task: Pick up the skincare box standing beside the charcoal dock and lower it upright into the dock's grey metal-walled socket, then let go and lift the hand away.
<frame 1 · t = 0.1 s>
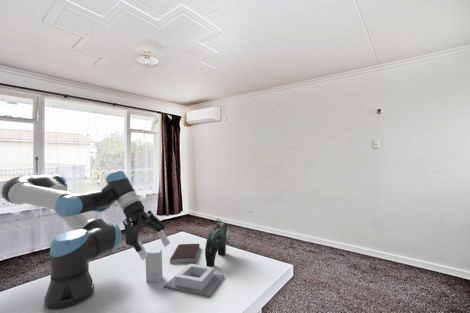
hand: (157, 251, 90), 15 cm above the table, tool tilted 35°, fingers open, 13 cm apart
socket dock: (195, 282, 96), on the table
book: (186, 256, 123), on the table
dark green figurine: (217, 259, 117), on the table
skincare box: (154, 279, 99), on the table
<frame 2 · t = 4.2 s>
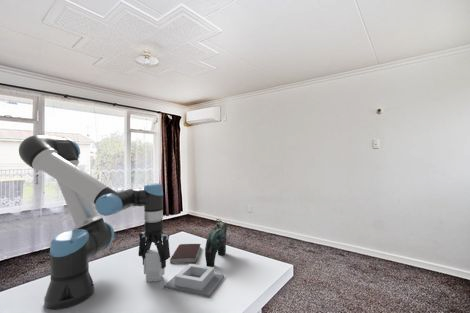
hand: (154, 274, 99), 2 cm above the table, tool pointing down, fingers closed on skincare box, 7 cm apart
skincare box: (154, 279, 99), on the table, touching gripper
everything else where it was.
when the fingers open (5 cm above the table, at t = 9.3 s): skincare box drops 2 cm, resting on socket dock.
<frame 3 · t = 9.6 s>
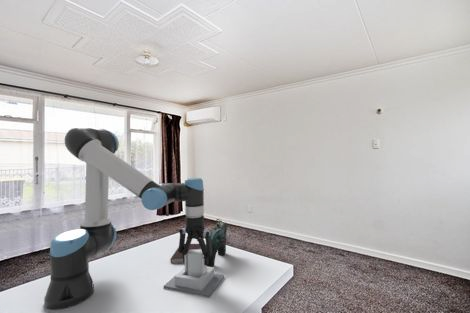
hand: (195, 271, 96), 5 cm above the table, tool pointing down, fingers open, 7 cm apart
skincare box: (195, 280, 95), point 1 cm above the table, touching socket dock
everything else where it was.
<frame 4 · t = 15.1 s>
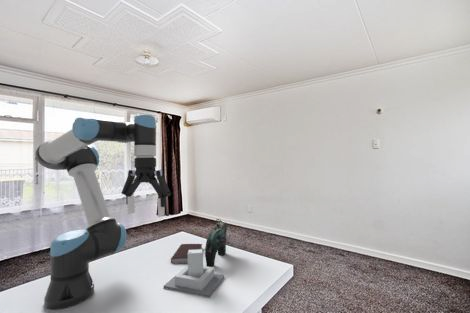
hand: (145, 214, 85), 31 cm above the table, tool pointing down, fingers open, 13 cm apart
nothing on the table moved.
at the end: skincare box 0.2 cm off-centre on the socket dock, point 0.8 cm above the socket dock's base; skincare box tilted 0°; the gripper is holding nothing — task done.
